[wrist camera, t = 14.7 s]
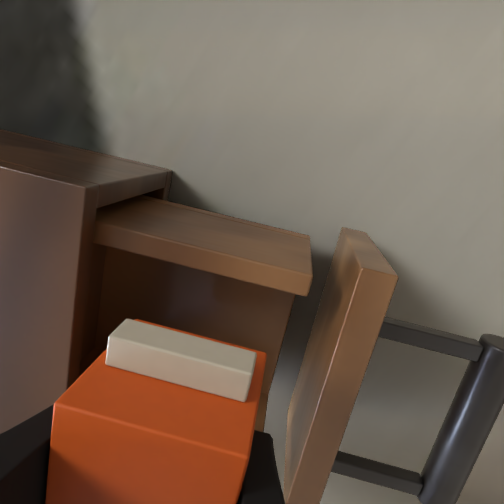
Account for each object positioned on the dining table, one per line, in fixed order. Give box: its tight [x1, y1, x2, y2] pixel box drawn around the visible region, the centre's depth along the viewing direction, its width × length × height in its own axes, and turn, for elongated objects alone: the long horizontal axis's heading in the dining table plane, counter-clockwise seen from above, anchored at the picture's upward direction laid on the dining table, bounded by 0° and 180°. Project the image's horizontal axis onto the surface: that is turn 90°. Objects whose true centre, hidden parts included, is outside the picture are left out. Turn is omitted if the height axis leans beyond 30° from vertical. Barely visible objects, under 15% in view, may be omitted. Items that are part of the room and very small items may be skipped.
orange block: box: [45, 319, 267, 504], centre depth 10 cm, size 4×7×4 cm, turn 168°
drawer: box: [78, 195, 504, 504], centre depth 17 cm, size 18×10×6 cm, turn 78°
